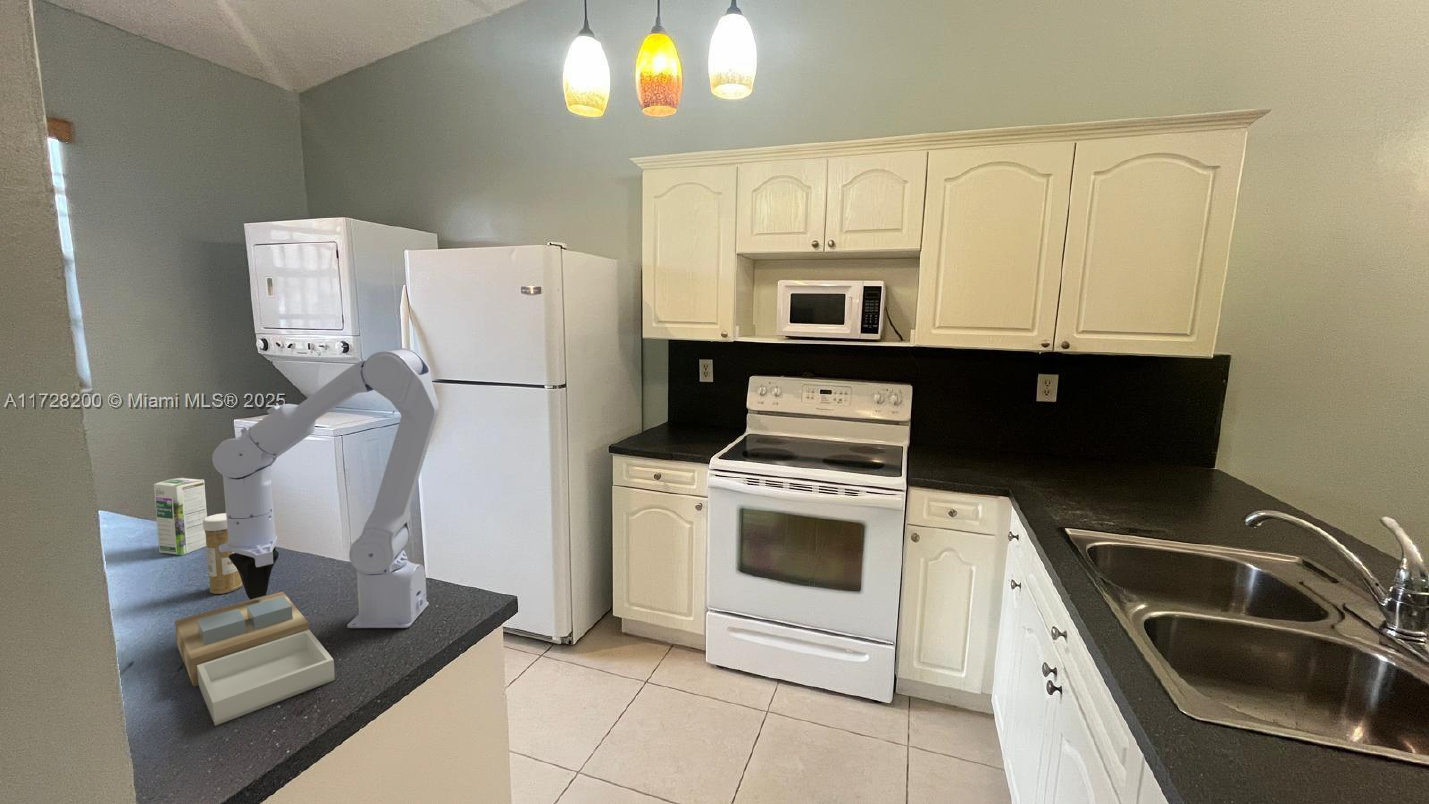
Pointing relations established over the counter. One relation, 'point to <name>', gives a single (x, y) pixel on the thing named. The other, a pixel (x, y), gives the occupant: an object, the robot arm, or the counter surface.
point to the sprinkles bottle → (219, 556)
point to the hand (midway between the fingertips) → (256, 596)
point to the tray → (263, 675)
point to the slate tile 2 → (269, 612)
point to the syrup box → (180, 515)
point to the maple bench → (200, 653)
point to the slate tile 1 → (221, 626)
